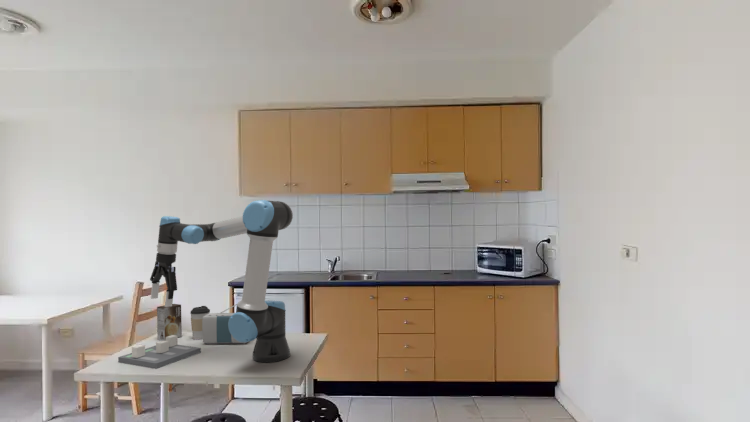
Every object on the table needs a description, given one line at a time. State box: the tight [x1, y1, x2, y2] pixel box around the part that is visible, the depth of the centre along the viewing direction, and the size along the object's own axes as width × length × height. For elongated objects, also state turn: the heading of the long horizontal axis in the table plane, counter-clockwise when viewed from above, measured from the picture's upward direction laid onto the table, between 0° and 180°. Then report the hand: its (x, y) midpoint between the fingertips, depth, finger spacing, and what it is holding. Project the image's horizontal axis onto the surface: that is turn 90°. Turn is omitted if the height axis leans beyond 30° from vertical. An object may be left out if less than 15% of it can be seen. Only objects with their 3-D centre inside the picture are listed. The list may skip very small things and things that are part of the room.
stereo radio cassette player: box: [202, 303, 247, 345], centre depth 201 cm, size 21×8×20 cm, turn 88°
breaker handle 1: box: [131, 344, 146, 358], centre depth 174 cm, size 3×4×4 cm
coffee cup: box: [189, 305, 211, 341], centre depth 210 cm, size 9×9×15 cm
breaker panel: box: [117, 344, 202, 370], centre depth 180 cm, size 22×22×2 cm
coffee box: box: [156, 303, 183, 341], centre depth 210 cm, size 9×6×16 cm
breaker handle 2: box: [166, 335, 179, 347], centre depth 189 cm, size 3×4×4 cm
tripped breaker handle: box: [155, 340, 169, 353], centre depth 180 cm, size 3×4×4 cm
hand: (161, 302), depth 182 cm, fingers open, 13 cm apart
